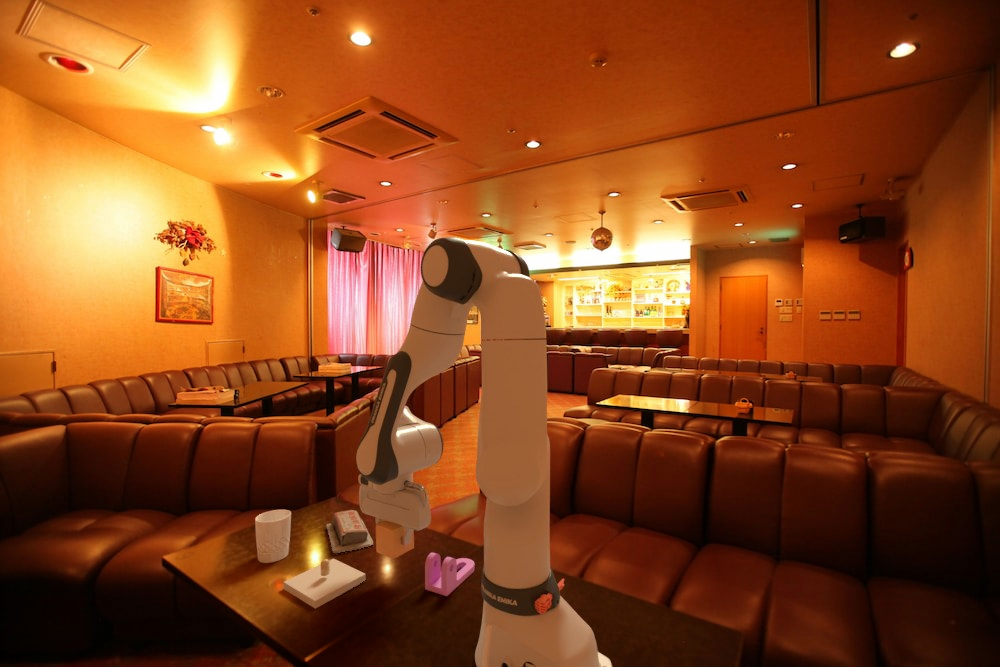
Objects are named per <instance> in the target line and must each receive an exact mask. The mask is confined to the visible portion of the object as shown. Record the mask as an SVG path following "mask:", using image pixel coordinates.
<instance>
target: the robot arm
mask: <svg viewBox="0 0 1000 667" xmlns="http://www.w3.org/2000/svg"><path fill="white" fill-rule="evenodd" d="M421 257H422V258H421V261H420V275H421V279H422V281H421V284H420V287H419V290H418V292H417V295H416V298H415V301H414V305H413V309H412V314H411V318H410V324H409V328H408V331H407V334H406V338H405V339H404V342H403V343H402V344H401V347H400V348H399V350H398V351H397V352H396V353H395V354H394V355H393V356H391V357H390V359H389V361H388V362H387V365H386V368H385V370H384V373H383V376H382V379H381V381H380V386H379V389H378V391H377V394H376V398H375V400H374V404H373V406H372V410H371V414H370V417H369V420H368V423H367V425H366V429H365V431H364V432H363V433H362V437H361V438H360V440H359V442H358V443H357V446H356V450H355V457H354V458H355V467H356V469H357V471H358V472H359V475H358V478H357V480H358V481H357V482H358V484H359V489H358V491H359V493H358V500H359V501H358V502H359V508H360V511H361V513H362V514H364V515H368V516H371V517H373V518H374V522H375V525H376V524H378V523H381V522H383V521H385V520H386V521H389V522H392V523H395V524H398V525H401V526H403V530H404V531H405V533H404V536H401V544H402V545H405V546H407V545H409V544H411V535H412V533H413V531H422V530H423V529H425V528H427V527H428V526H430V524H431V522H432V514H431V513H432V512H431V506H430V500H429V496H428V493H427V490H426V489H425V488H424V486H423V485H422V483H416V482H414V473H416V472H418V471H421V470H424V469H426V468H429V467H432V466H434V465H436V464H438V463H439V461H440V459H441V458H442V456H443V453H444V446H445V445H444V438H443V435H442V433H441V431H440V430H439V428H438V427H437V426H436V425H435V424H434V423H432V422H426V421H424V420H422V419H421V418H419V417H417V416H415V415H414V414H413V413H412V412H411V410H410V408H409V406H407V405H406V404H407V401H408V399H409V397H410V395H411V394H413V391H414V390H416V389H417V388H418V387H419V386H420V385H422V384H423V383H424V382H426V381H428V380H429V379H431V378H432V377H435V376H436V375H439V374H441V373H443V372H445V371H446V370H448V369H449V368H451V367H452V366H453V365H454V364H455V363H456V362H457V361H458V359H459V357H460V356H461V355H460V354H461V353H462V350H463V346H464V342H465V341H464V340H465V336H466V335H465V334H466V332H467V331H466V330H467V324H468V317H469V315H470V312H471V310H472V308H473V307H476V308H477V309H478V312H479V314H480V320H481V321H480V322H481V324H480V326H481V329H480V331H481V332H480V340H481V341H480V342H481V343H480V345H481V346H480V347H481V348H480V349H481V353H480V354H481V396H480V404H479V415H478V428H477V443H476V444H477V447H476V448H477V449H476V462H475V477H476V478H475V479H476V483H477V485H478V487H479V489H480V491H481V493H482V494H483V495H484V496H485V497H486V504H485V513H484V520H483V562H484V563H483V566H482V570H481V596H482V598H483V604H482V605H483V606H482V619H481V624H480V625H481V626H480V632H479V637H478V640H477V641H478V642H477V645H476V647H475V653H474V661H475V665H476V667H613V665H612V662H611V659H610V658H609V657H607V656H606V655H604V654H602V653H601V652H599V650H598V644H597V640H596V638H595V634H594V631H593V629H592V627H590V625H589V624H588V623H587V622H586V621H585V620H584V619H583V618H582V617H581V616H580V615H579V614H578V613H577V612H576V611H575V610H574V609H573V607H572V606H571V605H570V604H569V603H568V602H567V601H566V600H565V599H564V598H563V596H561V592H560V591H562V589H563V588H564V587H565V583H564V582H565V578H564V577H563V578H562V579H561V580H560V581H559V582H558V583H557V581H556V578H555V575H554V572H553V569H552V568H551V551H550V550H551V549H550V548H551V543H550V541H551V539H550V536H551V535H550V532H551V530H550V527H551V526H550V518H551V517H550V515H551V513H550V509H551V508H550V507H551V506H550V503H551V442H550V437H549V435H548V360H547V359H548V357H547V355H548V354H547V346H548V345H547V325H546V316H545V314H546V313H545V309H544V303H543V298H542V294H541V289H540V286H539V284H538V283H537V282H536V281H535V279H532V278H531V277H530V276H531V274H530V269H529V266H528V264H527V262H526V260H524V259H523V257H522V256H520V255H519V254H517V253H515V252H513V251H512V250H510V249H502V248H500V247H498V246H495V245H492V244H489V243H487V242H485V241H479V240H473V239H472V240H471V239H463V238H460V237H456V236H453V237H452V236H446V237H440V238H439V237H438V238H437V239H434V240H433V241H432V242H430V243H429V244H428V246H427V247H426V248H425V250H424V252H423V254H422V256H421Z"/></svg>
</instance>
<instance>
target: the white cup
mask: <svg viewBox="0 0 1000 667" xmlns="http://www.w3.org/2000/svg"><path fill="white" fill-rule="evenodd" d="M254 521H255V522H254V523H255V540H256V550H257V554H256V555H257V561H258V562H259V563H262V564H270V563H271V564H272V563H275V562H276V563H277V562H279V561H281V560H283V559H285V558H286V557H287V556H289V553H290V542H291V539H290V538H291V527H292V526H291V524H292V522H291V521H292V511H291V510H288V509H275V510H274V509H272V510H269V511H265V512H262V513H261V514H259V515H257V516H255V518H254Z"/></svg>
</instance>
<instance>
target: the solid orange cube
mask: <svg viewBox="0 0 1000 667" xmlns="http://www.w3.org/2000/svg"><path fill="white" fill-rule="evenodd" d="M414 531H415V530H414ZM414 531H413V533H412V535H411V544H409V545H407V546H405V545H402V544H401V536H404V533H405V531H404V530H403V526H401V525H398V524H395V523H392V522H389V521H386V520H385V521H383V522H381V523H378V524H376V523H375V540H376V541H375V544H376V545H375V546H376V547H375V548H376V553H378V554H380V555H383V556H385V557H388V558H390V559H393V560H395V559H396V558H398V557H400V556H402V555H404V554H406V553H408V552H409V551H411V550H413V549H415V535H414Z"/></svg>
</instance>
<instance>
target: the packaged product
mask: <svg viewBox="0 0 1000 667" xmlns="http://www.w3.org/2000/svg"><path fill="white" fill-rule="evenodd" d="M325 528H326V530H328V531H327V535H329V537H328V540H329V539H330V541H329V543H330V542H331V545H330V548H331V547H332V548H331V551H332V554H333V553H340V552H345V551H350V552H353V551H352V550H355V551H358V550H357V549H359V550H362V549H361V548H363V549H365V548H364V547H368V546H371V545H373V546H374V545H375V544H374V543H375V542H374V540H373V539H372V537H371V535H370V533H369V529H368V528H367V526H366V525H365V522H364V521H363V519H362V518H361V516H360V514H359V512H358V511H357V510H354V509H348V510H343V511H342V510H341V511H337V512H334V513H333V516H332V522H331V523H326V526H325ZM368 548H369V547H368ZM345 553H346V552H345Z"/></svg>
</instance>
